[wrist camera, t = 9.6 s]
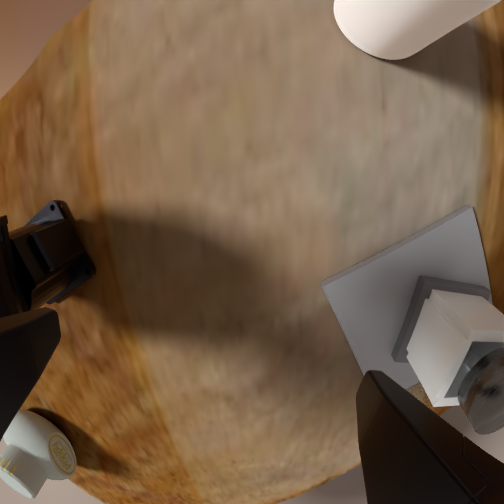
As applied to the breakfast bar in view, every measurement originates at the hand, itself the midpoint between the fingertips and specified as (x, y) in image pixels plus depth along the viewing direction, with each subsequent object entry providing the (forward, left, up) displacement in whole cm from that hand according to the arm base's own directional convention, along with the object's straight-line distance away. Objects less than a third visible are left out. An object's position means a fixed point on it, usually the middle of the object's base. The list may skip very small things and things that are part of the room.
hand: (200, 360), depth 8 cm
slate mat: (+9, -11, -13) cm, 19 cm away
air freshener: (-34, -10, -13) cm, 38 cm away
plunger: (+10, -12, -10) cm, 19 cm away
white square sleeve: (+10, -12, -12) cm, 20 cm away
